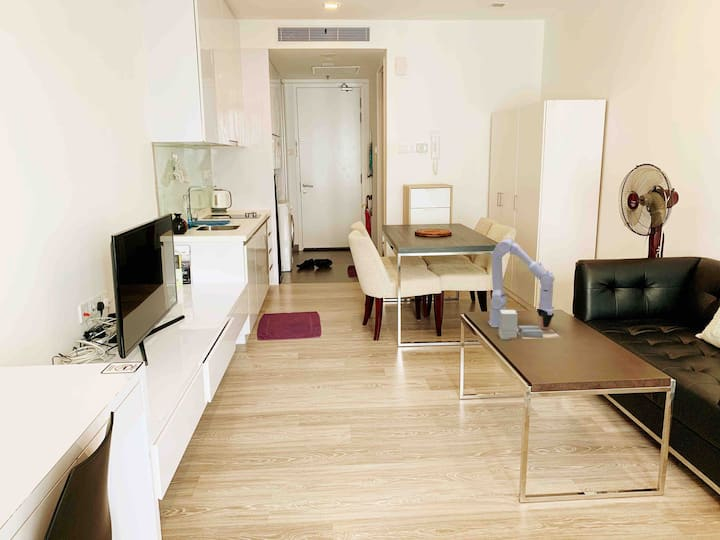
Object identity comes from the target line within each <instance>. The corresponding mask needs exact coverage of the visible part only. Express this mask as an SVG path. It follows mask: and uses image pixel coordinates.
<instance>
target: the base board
mask: <svg viewBox="0 0 720 540" xmlns="http://www.w3.org/2000/svg"><path fill="white" fill-rule="evenodd" d="M517 334H518V335H519V336H520V337H521V338H522V339H526V340H527V339H528V340H529V339H530V340H531V339H535V340H536V339H540V340H541V339H545V340H546V339H548V340H549V339H553V340H554V339H555V340H556V339H557V340H558V339H563V338H562V337H561V336H560V335H559V334H558V333H556V331H554V329H552V328H551V329H540V328H539V327H538V326H537V325H517Z"/></svg>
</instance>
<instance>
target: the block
mask: <svg viewBox="0 0 720 540" xmlns="http://www.w3.org/2000/svg"><path fill="white" fill-rule="evenodd" d="M552 319H553V318H552ZM552 319H551V321H550V324H549V327H544V325H543V317H542V316H539V315H538V316H537V323H536V326H538V327H539V328H540V329H552Z"/></svg>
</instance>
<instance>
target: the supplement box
mask: <svg viewBox="0 0 720 540" xmlns="http://www.w3.org/2000/svg"><path fill="white" fill-rule="evenodd" d="M518 315H519V314H518V313H517V311H516V309H506V310H500V314H499V327H498V336H499V338H500V340H511V339H512V338H513V339H517V337H518V335H517V334H518V332H517V327H518V319H519V318H518Z"/></svg>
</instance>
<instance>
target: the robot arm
mask: <svg viewBox="0 0 720 540" xmlns="http://www.w3.org/2000/svg"><path fill="white" fill-rule="evenodd" d="M508 253H509V255H515V256H516V257H518V258H519V259H520V260H521V261H522V262H523V263H525V264H526V265H527V266H528V271H529V272H531V274H532V275H533V276H535V278H537V280H539V283H540V291H539V302H538V308H537V309H536V312H537V315H538V316H542V317H543V325H544V327H549V324H550V321H551V319H553V317H554V316H555V315H554V313H553V310H554V309H555V307H554V306H553V293H554V284H553V283H555V282H554V281H555V275H554V274H553V272H550V271H549V270H547V269H546V268H545V267H544V266H543V265H542V264H543V263H542V262H538V261H534V260H533V259H532V257H530V256H529V255H528V254H527V252H525V250H523V249H522V247H521V246H520V245H519V243H517V242H515V241H514V240H513V239H512V238H505V239H503V240H501V241H499V242H498V243H497V244H496V245H495V247H494V249H493V251H492V253H491V254H490V259H491V261H490V262H491V277H492V278H491V279H492V280H491V281H492V293H491V299H490V302H489V303H490V304H489V305H490V306H491V307H490V309H489V320H488V321H487V324H489V326H490V328H499V314H500V310H507V308H506V304H507V303H508V297H507V295H506V292H505V289H504V278H503V277H504V276H503V262H502V260H503V257H505V255H506V254H508ZM551 322H552V321H551Z"/></svg>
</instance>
